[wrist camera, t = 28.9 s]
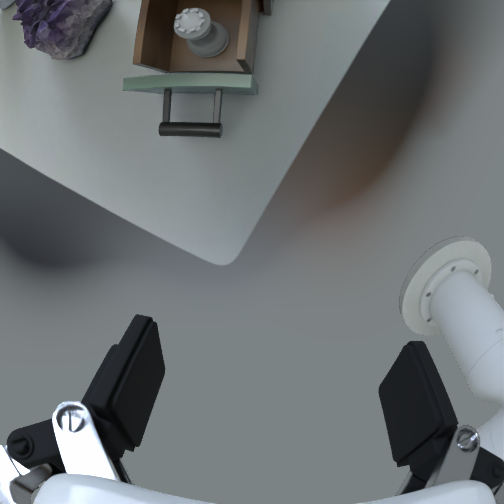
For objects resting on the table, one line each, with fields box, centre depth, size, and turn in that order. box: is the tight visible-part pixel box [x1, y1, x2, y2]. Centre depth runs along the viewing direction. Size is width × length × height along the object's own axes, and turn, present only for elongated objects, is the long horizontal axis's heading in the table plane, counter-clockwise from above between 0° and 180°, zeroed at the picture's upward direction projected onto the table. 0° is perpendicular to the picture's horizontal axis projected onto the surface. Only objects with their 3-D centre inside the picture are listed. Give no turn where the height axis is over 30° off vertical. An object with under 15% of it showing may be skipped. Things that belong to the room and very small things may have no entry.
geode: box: [13, 0, 112, 60], centre depth 17 cm, size 20×12×10 cm, turn 39°
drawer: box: [123, 0, 261, 138], centre depth 22 cm, size 18×11×9 cm, turn 175°
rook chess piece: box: [174, 8, 229, 57], centre depth 20 cm, size 4×4×8 cm
